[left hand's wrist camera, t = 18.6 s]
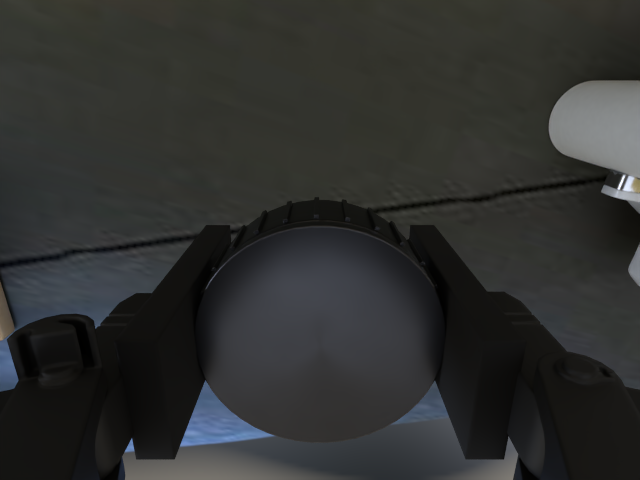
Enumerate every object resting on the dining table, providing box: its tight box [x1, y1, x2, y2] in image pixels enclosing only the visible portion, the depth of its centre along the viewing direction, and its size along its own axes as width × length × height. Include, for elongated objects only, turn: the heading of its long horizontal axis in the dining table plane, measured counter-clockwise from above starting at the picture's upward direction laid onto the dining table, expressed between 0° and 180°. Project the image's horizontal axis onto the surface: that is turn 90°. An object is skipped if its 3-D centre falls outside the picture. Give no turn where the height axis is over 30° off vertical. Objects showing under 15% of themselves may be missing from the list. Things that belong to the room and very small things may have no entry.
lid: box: [194, 197, 446, 443], centre depth 11 cm, size 6×6×2 cm
